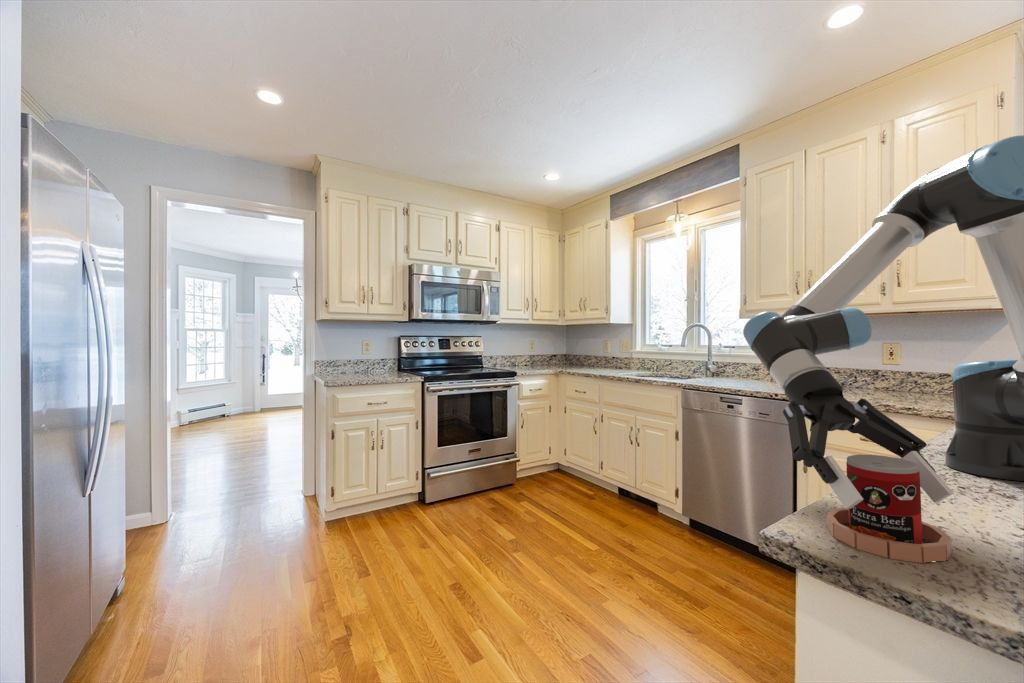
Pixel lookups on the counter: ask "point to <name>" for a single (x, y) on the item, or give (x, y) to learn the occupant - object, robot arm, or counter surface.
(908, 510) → the canned food
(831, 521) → the ring
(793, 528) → the counter surface
